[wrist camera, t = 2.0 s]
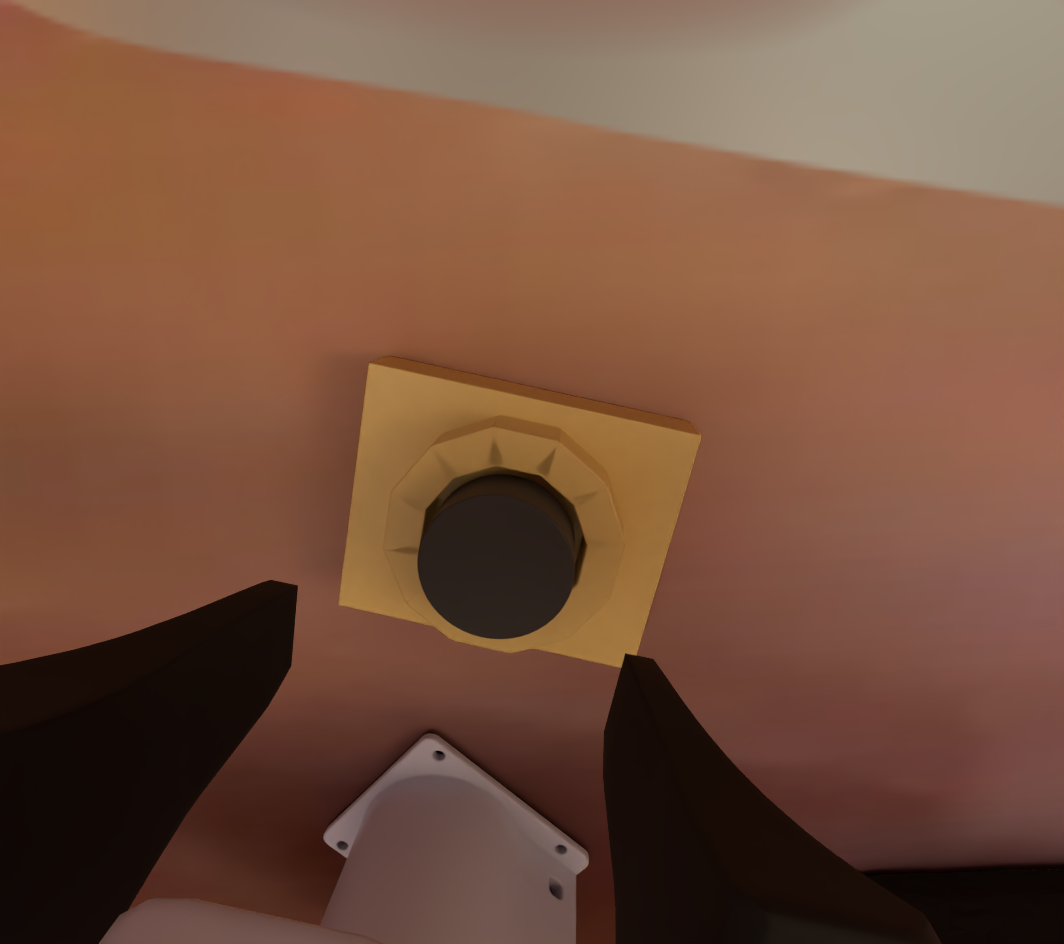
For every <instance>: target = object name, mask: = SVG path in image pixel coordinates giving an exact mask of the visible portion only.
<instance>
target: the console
mask: <svg viewBox="0 0 1064 944" xmlns="http://www.w3.org/2000/svg"><path fill="white" fill-rule="evenodd" d="M701 437H702V435H701V434H700V433H699V432H698V431H697V430H696V428H695V427H694V426H693V425H692V424H691V422H689V421H685V420H680V419H676V418H671V417H667V416H662V415H658V414H653V413H648V412H644V411H639V410H635V409H630V408H626V407H621V406H616V405H612V404H607V403H603V402H598V401H594V400H589V399H584V398H580V397H575V396H571V395H566V394H562V393H557V392H552V391H548V390H543V389H539V388H534V387H530V386H525V385H520V384H516V383H511V382H507V381H502V380H498V379H493V378H488V377H484V376H479V375H475V374H470V373H466V372H461V371H456V370H452V369H447V368H443V367H438V366H434V365H429V364H424V363H420V362H415V361H411V360H406V359H402V358H397V357H392V356H387V357H384V358H382V359H379V360H376V361H373V362H370V363H369V365H368V373H367V381H366V389H365V397H364V405H363V413H362V421H361V429H360V437H359V445H358V452H357V460H356V468H355V476H354V484H353V492H352V500H351V508H350V516H349V524H348V532H347V540H346V548H345V556H344V563H343V571H342V579H341V587H340V595H339V603H338V604H339V605H341V606H346V607H350V608H355V609H359V610H364V611H368V612H373V613H377V614H382V615H386V616H391V617H395V618H400V619H404V620H409V621H413V622H417V623H422V624H426V625H431V626H434V627H435V628H437V629H438V630H439V631H440V632H442V633H443V634H444V635H445V636H447V637H448V638H449V639H451V640H452V639H453V641H456V642H461V643H465V644H470V645H474V646H478V647H483V648H487V649H492V650H496V651H501V652H505V653H510V652H511V653H515V652H519V651H523V650H527V649H531V648H534V649H538V650H543V651H547V652H552V653H556V654H561V655H565V656H570V657H574V658H579V659H583V660H588V661H592V662H597V663H601V664H606V665H610V666H615V667H619V668H621V667H622V663H623V660H624V656H625V653H626V654H631V655H637V652H638V648H639V645H640V642H641V638H642V635H643V632H644V628H645V625H646V622H647V618H648V615H649V612H650V608H651V605H652V602H653V598H654V595H655V591H656V588H657V585H658V581H659V578H660V575H661V571H662V568H663V565H664V561H665V558H666V555H667V551H668V548H669V545H670V541H671V538H672V535H673V531H674V528H675V525H676V521H677V518H678V514H679V511H680V508H681V504H682V501H683V498H684V494H685V491H686V488H687V484H688V481H689V478H690V474H691V471H692V468H693V464H694V461H695V458H696V454H697V451H698V448H699V444H700V441H701ZM495 474H508V475H514V476H519V477H522V478H526V479H528V480H531V481H533V482H535V483H537V484H539V485H541V486H542V487H544V488H545V489H547V490H548V491H549V492H550V493H552V494H553V495H554V496H555V497H556V498H557V499H558V500H559V502H560V503H561V504H562V506H563V507H564V508H565V510H566V512H567V514H568V515H569V518H570V520H571V523H572V526H573V530H574V536H575V577H574V583H573V587H572V590H571V593H570V596H569V598H568V600H567V602H566V604H565V605H564V607H563V608H562V610H561V611H560V612H559V613H558V615H557V616H556V617H555V618H554V619H553V620H551V621H550V622H549V623H548V624H547V625H545V626H543V627H542V628H540V629H539V630H537V631H534V632H532V633H530V634H527V635H524V636H521V637H516V638H511V639H489V638H483V637H479V636H475V635H471V634H469V633H467V632H464V631H462V630H460V629H458V628H457V627H455V626H453V625H452V624H450V623H449V622H448V621H446V620H445V619H444V618H443V617H442V616H441V615H439V614H438V612H437V611H436V610H435V609H434V608H433V607H432V605H431V604H430V602H429V601H428V599H427V597H426V595H425V593H424V591H423V589H422V586H421V583H420V580H419V575H418V567H417V558H418V550H419V546H420V542H421V540H422V537H423V535H424V533H425V531H426V529H427V528H428V526H429V524H430V523H431V521H432V520H433V518H434V516H435V515H436V513H437V512H438V510H439V509H440V507H441V505H442V504H443V502H444V501H445V500H446V499H447V497H448V496H449V495H450V494H451V493H452V492H453V491H454V490H456V489H457V488H459V487H460V486H461V485H463V484H465V483H467V482H469V481H470V480H473V479H476V478H479V477H482V476H487V475H495Z"/></svg>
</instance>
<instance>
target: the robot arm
mask: <svg viewBox="0 0 1064 944" xmlns="http://www.w3.org/2000/svg"><path fill="white" fill-rule="evenodd" d="M297 590H298V585H293V584H288V583H283V582H278V581H273V580H269V581H266V582H262V583H260V584H257V585H254V586H252V587H249V588H247V589H244V590H242V591H239V592H237V593H235V594H232V595H230V596H227V597H225V598H223V599H220V600H218V601H215V602H213V603H210V604H208V605H206V606H203V607H201V608H198V609H196V610H193V611H191V612H188V613H186V614H183V615H180V616H178V617H175V618H172V619H169V620H167V621H164V622H161V623H158V624H156V625H153V626H150V627H148V628H145V629H142V630H139V631H136V632H133V633H130V634H127V635H124V636H121V637H118V638H114V639H111V640H107V641H104V642H100V643H97V644H93V645H90V646H86V647H82V648H79V649H75V650H71V651H66V652H62V653H57V654H52V655H48V656H43V657H39V658H34V659H30V660H25V661H20V662H16V663H11V664H5V665H0V944H576V875H577V874H579V873H580V872H581V871H582V870H584V869H585V868H586V867H587V866H588V863H589V855H588V852H587V851H586V850H585V849H584V848H582V847H581V846H580V845H579V844H577V843H576V842H575V841H573V840H572V839H571V838H570V837H568V836H567V835H566V834H564V833H563V832H562V831H561V830H559V829H558V828H557V827H555V826H554V825H553V824H552V823H550V822H549V821H548V820H546V819H545V818H544V817H542V816H541V815H540V814H539V813H537V812H536V811H535V810H533V809H532V808H531V807H530V806H528V805H527V804H526V803H524V802H523V801H522V800H521V799H519V798H518V797H517V796H515V795H514V794H513V793H512V792H510V791H509V790H508V789H506V788H505V787H504V786H503V785H501V784H500V783H499V782H497V781H496V780H495V779H494V778H492V777H491V776H490V775H488V774H487V773H486V772H484V771H483V770H482V769H481V768H479V767H478V766H477V765H475V764H474V763H473V762H472V761H470V760H469V759H468V758H466V757H465V756H464V755H463V754H461V753H460V752H459V751H457V750H456V749H455V748H454V747H452V746H451V745H450V744H448V743H447V742H446V741H445V740H443V739H442V738H441V737H439V736H438V735H436V734H432V733H429V734H425V735H424V736H422V737H421V738H420V739H419V740H418V741H417V742H416V743H415V744H414V745H413V746H412V747H411V748H410V749H409V750H408V751H407V752H406V753H404V754H403V755H402V756H401V757H400V758H399V759H398V760H397V761H396V762H395V763H394V764H393V765H392V766H391V767H390V768H389V769H388V770H387V771H386V772H385V773H384V774H382V775H381V776H380V777H379V778H378V779H377V780H376V781H375V782H374V783H373V784H372V785H371V786H370V787H369V788H368V789H367V790H366V791H365V792H364V793H363V794H362V795H360V796H359V797H358V798H357V799H356V800H355V801H354V802H353V803H352V804H351V805H350V806H349V807H348V808H347V809H346V810H345V811H344V812H343V813H342V814H341V815H340V816H339V817H337V818H336V819H335V820H334V821H333V822H332V823H331V824H330V825H329V826H328V827H327V829H326V831H325V833H324V841H325V842H326V843H327V844H328V845H329V846H330V847H332V848H333V849H335V850H336V851H337V852H339V853H340V854H341V855H343V856H344V857H346V858H347V860H346V862H345V865H344V867H343V870H342V872H341V875H340V877H339V879H338V882H337V884H336V887H335V889H334V892H333V894H332V897H331V899H330V902H329V904H328V906H327V909H326V911H325V914H324V916H323V919H322V921H321V924H320V926H319V925H314V924H309V923H305V922H300V921H295V920H291V919H286V918H282V917H277V916H272V915H268V914H263V913H258V912H254V911H249V910H244V909H240V908H235V907H231V906H226V905H221V904H217V903H212V902H207V901H203V900H198V899H193V898H155V899H149V900H147V901H145V902H143V903H141V904H139V905H137V906H136V907H134V908H132V909H130V910H128V909H129V907H130V906H131V904H132V902H133V901H134V899H135V897H136V895H137V894H138V892H139V890H140V889H141V887H142V885H143V884H144V882H145V880H146V879H147V877H148V875H149V874H150V872H151V870H152V869H153V867H154V865H155V864H156V862H157V860H158V859H159V857H160V856H161V854H162V852H163V851H164V849H165V848H166V846H167V845H168V843H169V841H170V840H171V838H172V837H173V835H174V833H175V832H176V830H177V829H178V827H179V825H180V824H181V822H182V821H183V819H184V817H185V816H186V814H187V813H188V812H189V810H190V809H191V807H192V806H193V804H194V803H195V802H196V800H197V799H198V797H199V796H200V795H201V793H202V792H203V791H204V789H205V788H206V787H207V785H208V784H209V783H210V782H211V780H212V779H213V778H214V776H215V775H216V774H217V772H218V771H219V770H220V769H221V767H222V766H223V765H224V763H225V762H226V761H227V760H228V758H229V757H230V756H231V754H232V753H233V752H234V750H235V749H236V748H237V747H238V745H239V744H240V743H241V741H242V740H243V739H244V738H245V736H246V735H247V734H248V732H249V731H250V730H251V728H252V727H253V726H254V724H255V723H256V722H257V720H258V719H259V718H260V716H261V715H262V714H263V712H264V711H265V710H266V708H267V707H268V706H269V704H270V702H271V701H272V699H273V697H274V695H275V694H276V692H277V690H278V689H279V687H280V685H281V683H282V682H283V680H284V678H285V676H286V674H287V673H288V671H289V669H290V667H291V662H292V650H293V638H294V626H295V614H296V602H297ZM436 751H441V752H443V753H444V754H438V753H437V752H436ZM603 780H604V791H605V801H606V811H607V821H608V830H609V840H610V849H611V859H612V868H613V878H614V891H615V907H616V944H941V942H940V940H939V938H938V936H937V935H936V933H935V931H934V929H933V928H932V926H931V924H930V923H929V921H928V919H927V918H926V916H925V914H924V913H922V912H921V911H919V910H917V909H916V908H914V907H913V906H911V905H910V904H908V903H907V902H905V901H903V900H902V899H900V898H899V897H897V896H896V895H894V894H893V893H891V892H889V891H888V890H886V889H885V888H883V887H882V886H880V885H878V884H877V883H875V882H874V881H872V880H871V879H869V878H868V877H866V876H865V875H863V874H862V873H860V872H859V871H857V870H856V869H855V868H853V867H852V866H851V865H849V864H848V863H847V862H845V861H844V860H842V859H841V858H840V857H838V856H837V855H836V854H834V853H833V852H832V851H830V850H829V849H827V848H826V847H825V846H824V845H822V844H821V843H820V842H819V841H817V840H816V839H815V838H813V837H812V836H811V835H810V834H808V833H807V832H806V831H805V830H803V829H802V828H801V827H800V826H799V825H798V824H796V823H795V822H794V821H793V820H792V819H791V818H789V817H788V816H787V815H786V814H785V813H784V812H783V811H781V810H780V809H779V808H778V807H777V806H776V805H775V804H774V803H772V802H771V801H770V800H769V799H768V798H767V797H766V796H765V795H764V794H763V793H762V792H761V791H760V790H759V789H758V788H757V787H756V786H755V785H754V784H753V783H752V782H751V781H750V780H749V779H748V778H747V777H746V776H745V775H744V774H743V773H742V772H741V771H740V770H739V769H738V768H737V767H736V766H735V765H734V764H733V763H732V761H731V760H730V759H729V758H728V757H727V756H726V755H725V753H724V752H723V751H722V750H721V749H720V748H719V746H718V745H717V744H716V743H715V742H714V741H713V739H712V738H711V737H710V736H709V735H708V733H707V732H706V731H705V730H704V728H703V727H702V726H701V725H700V723H699V722H698V721H697V719H696V718H695V717H694V715H693V714H692V713H691V711H690V710H689V709H688V707H687V706H686V705H685V703H684V702H683V700H682V699H681V698H680V696H679V695H678V693H677V692H676V691H675V689H674V688H673V686H672V685H671V684H670V682H669V681H668V679H667V678H666V676H665V675H664V673H663V672H662V670H661V669H660V668H659V666H658V665H657V663H656V662H655V661H654V659H650V658H646V657H641V656H636V655H631V654H626V653H625V656H624V660H623V663H622V667H621V671H620V675H619V678H618V682H617V686H616V689H615V693H614V697H613V700H612V704H611V708H610V711H609V715H608V719H607V723H606V726H605V730H604V752H603ZM343 841H344V842H343ZM345 842H346V843H345ZM558 845H563V847H562V846H558Z"/></svg>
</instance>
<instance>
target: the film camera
mask: <svg viewBox="0 0 1064 944" xmlns="http://www.w3.org/2000/svg"><path fill="white" fill-rule="evenodd" d="M866 877H868V878H869V879H871V880H872V881H874V882H875V883H877V884H878V885H880V886H882V887H883V888H885V889H886V890H888V891H889V892H891V893H893V894H894V895H896V896H897V897H899V898H900V899H902V900H903V901H905V902H907V903H908V904H910V905H911V906H913V907H914V908H916V909H917V910H919V911H921V912H922V913H924V914H925V916H926V918H927V919H928V921H929V923H930V924H931V926H932V928H933V929H934V931H935V933H936V935H937V936H938V938H939V940H940V942H941V944H1064V869H1061V868H1060V869H1057V870H1056V869H1054V868H1052V869H1050V870H1049V869H1048V868H1042V869H1037V870H1032V869H1029V870H1022V869H1006V870H995V871H985V870H984V871H983V872H982V871H981V870H980V871H979V872H975V871H973V872H954V873H942V874H941V873H924V872H920V873H905V874H879V875H869V876H866Z"/></svg>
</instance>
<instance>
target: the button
mask: <svg viewBox="0 0 1064 944" xmlns="http://www.w3.org/2000/svg"><path fill="white" fill-rule="evenodd" d="M417 567H418V575H419V580H420V583H421V586H422V589H423V591H424V593H425V595H426V597H427V599H428V601H429V602H430V604H431V605H432V607H433V608H434V609H435V610H436V611H437V612H438V614H439V615H441V616H442V617H443V618H444V619H445V620H446V621H448V622H449V623H450V624H452V625H453V626H455V627H457V628H458V629H460V630H462V631H464V632H467V633H469V634H471V635H475V636H479V637H483V638H489V639H511V638H516V637H521V636H524V635H527V634H530V633H532V632H534V631H537V630H539V629H540V628H542V627H543V626H545V625H547V624H548V623H549V622H550V621H551V620H553V619H554V618H555V617H556V616H557V615H558V613H559V612H560V611H561V610H562V608H563V607H564V605H565V604H566V602H567V600H568V598H569V596H570V593H571V590H572V587H573V583H574V577H575V536H574V530H573V526H572V523H571V520H570V518H569V515H568V514H567V512H566V510H565V508H564V507H563V506H562V504H561V503H560V502H559V500H558V499H557V498H556V497H555V496H554V495H553V494H552V493H550V492H549V491H548V490H547V489H545V488H544V487H542V486H541V485H539V484H537V483H535V482H533V481H531V480H528V479H526V478H522V477H519V476H514V475H508V474H495V475H487V476H482V477H479V478H476V479H473V480H470V481H469V482H467V483H465V484H463V485H461V486H460V487H459V488H457V489H456V490H454V491H453V492H452V493H451V494H450V495H449V496H448V497H447V499H446V500H445V501H444V502H443V504H442V505H441V507H440V509H439V510H438V512H437V513H436V515H435V516H434V518H433V520H432V521H431V523H430V524H429V526H428V528H427V529H426V531H425V533H424V535H423V537H422V540H421V542H420V546H419V550H418V558H417Z"/></svg>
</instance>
